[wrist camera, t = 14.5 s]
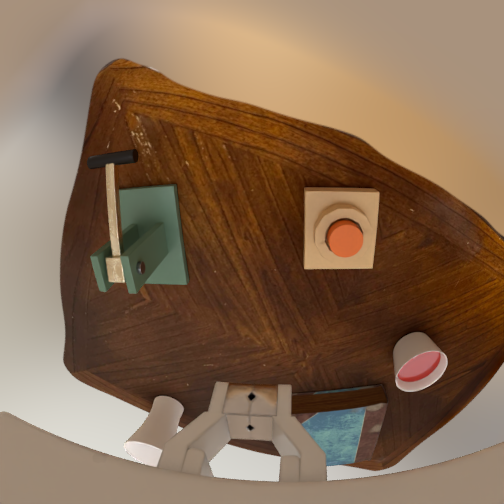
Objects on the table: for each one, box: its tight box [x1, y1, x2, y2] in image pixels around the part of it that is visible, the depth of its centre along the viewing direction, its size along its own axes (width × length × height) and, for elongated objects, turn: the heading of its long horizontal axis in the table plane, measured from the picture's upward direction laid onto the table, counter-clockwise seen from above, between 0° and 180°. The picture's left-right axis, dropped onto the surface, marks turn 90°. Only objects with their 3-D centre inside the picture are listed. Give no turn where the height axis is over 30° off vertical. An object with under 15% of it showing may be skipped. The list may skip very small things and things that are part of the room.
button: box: [327, 220, 363, 258], centre depth 34 cm, size 4×4×2 cm
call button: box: [303, 187, 379, 269], centre depth 37 cm, size 10×9×4 cm
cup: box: [124, 396, 184, 467], centre depth 51 cm, size 10×10×14 cm
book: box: [291, 384, 388, 466], centre depth 52 cm, size 23×18×5 cm
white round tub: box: [393, 332, 447, 392], centre depth 42 cm, size 9×9×6 cm
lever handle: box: [87, 149, 138, 283], centre depth 31 cm, size 14×6×2 cm, turn 3°
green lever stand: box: [90, 184, 189, 293], centre depth 36 cm, size 14×9×12 cm, turn 3°
